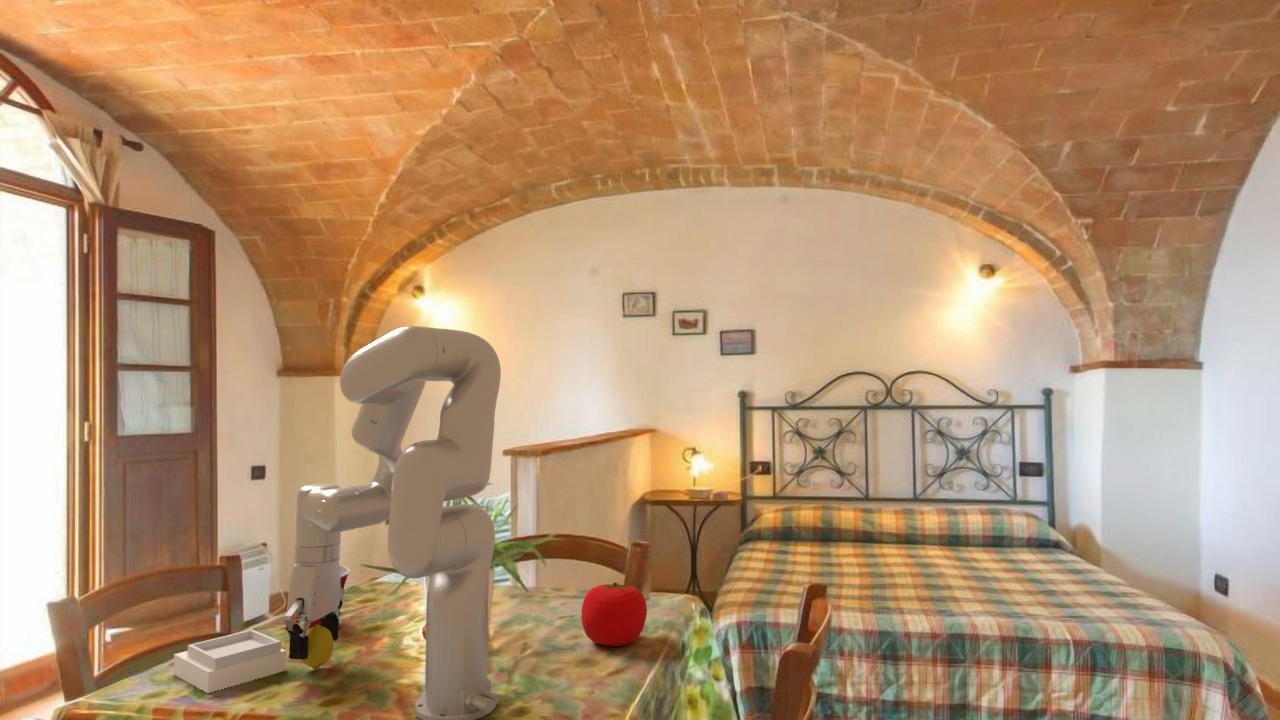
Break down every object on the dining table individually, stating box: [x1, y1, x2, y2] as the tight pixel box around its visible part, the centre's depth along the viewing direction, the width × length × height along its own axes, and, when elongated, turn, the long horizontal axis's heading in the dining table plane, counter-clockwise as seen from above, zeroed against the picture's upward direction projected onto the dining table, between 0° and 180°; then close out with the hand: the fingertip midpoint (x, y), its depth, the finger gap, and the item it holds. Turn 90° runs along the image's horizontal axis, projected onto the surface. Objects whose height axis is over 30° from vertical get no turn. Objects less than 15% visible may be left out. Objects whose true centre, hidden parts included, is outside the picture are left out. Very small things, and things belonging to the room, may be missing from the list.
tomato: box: [580, 582, 648, 647], centre depth 147 cm, size 13×14×12 cm
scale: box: [173, 629, 287, 694], centre depth 131 cm, size 14×13×5 cm
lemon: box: [301, 624, 334, 671], centre depth 132 cm, size 6×6×8 cm
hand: (314, 648), depth 132 cm, fingers open, 9 cm apart
